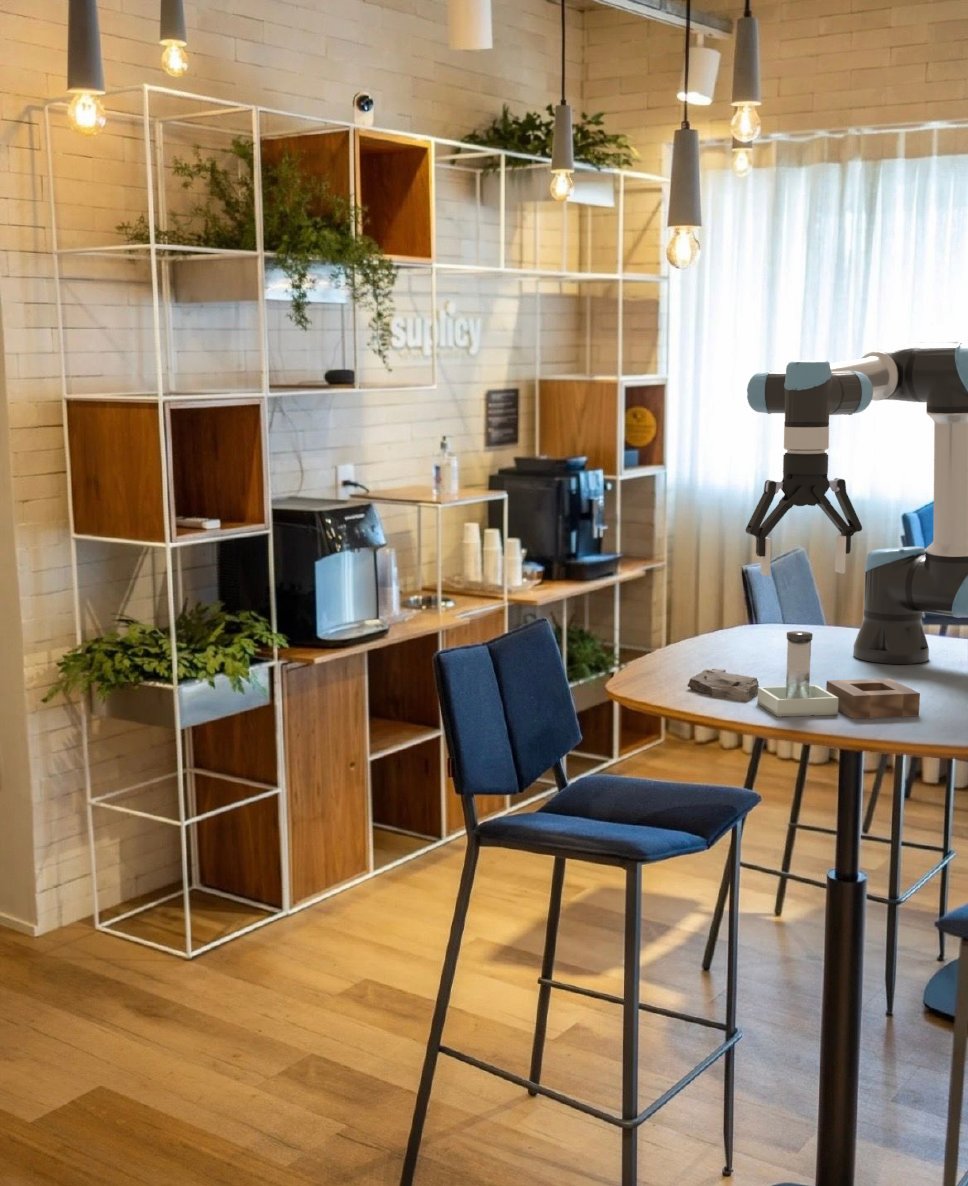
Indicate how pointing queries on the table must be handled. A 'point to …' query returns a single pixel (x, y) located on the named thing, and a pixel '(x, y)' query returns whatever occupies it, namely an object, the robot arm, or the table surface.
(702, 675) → the rock
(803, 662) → the capped bottle
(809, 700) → the tray
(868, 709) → the bore block
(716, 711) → the table surface
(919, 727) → the table surface
